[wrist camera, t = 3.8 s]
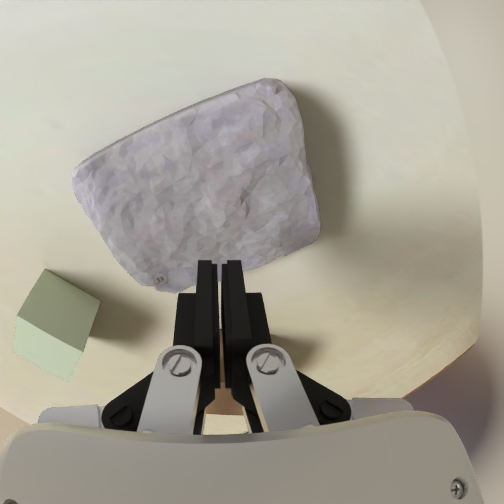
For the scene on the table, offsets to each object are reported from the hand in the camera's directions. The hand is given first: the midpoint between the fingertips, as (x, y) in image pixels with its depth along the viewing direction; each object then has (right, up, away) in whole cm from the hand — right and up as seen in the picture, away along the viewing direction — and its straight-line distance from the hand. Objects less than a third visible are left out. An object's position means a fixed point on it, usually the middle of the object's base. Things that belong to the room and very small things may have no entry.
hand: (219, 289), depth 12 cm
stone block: (-1, +5, +5) cm, 7 cm away
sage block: (-13, -3, +8) cm, 16 cm away
